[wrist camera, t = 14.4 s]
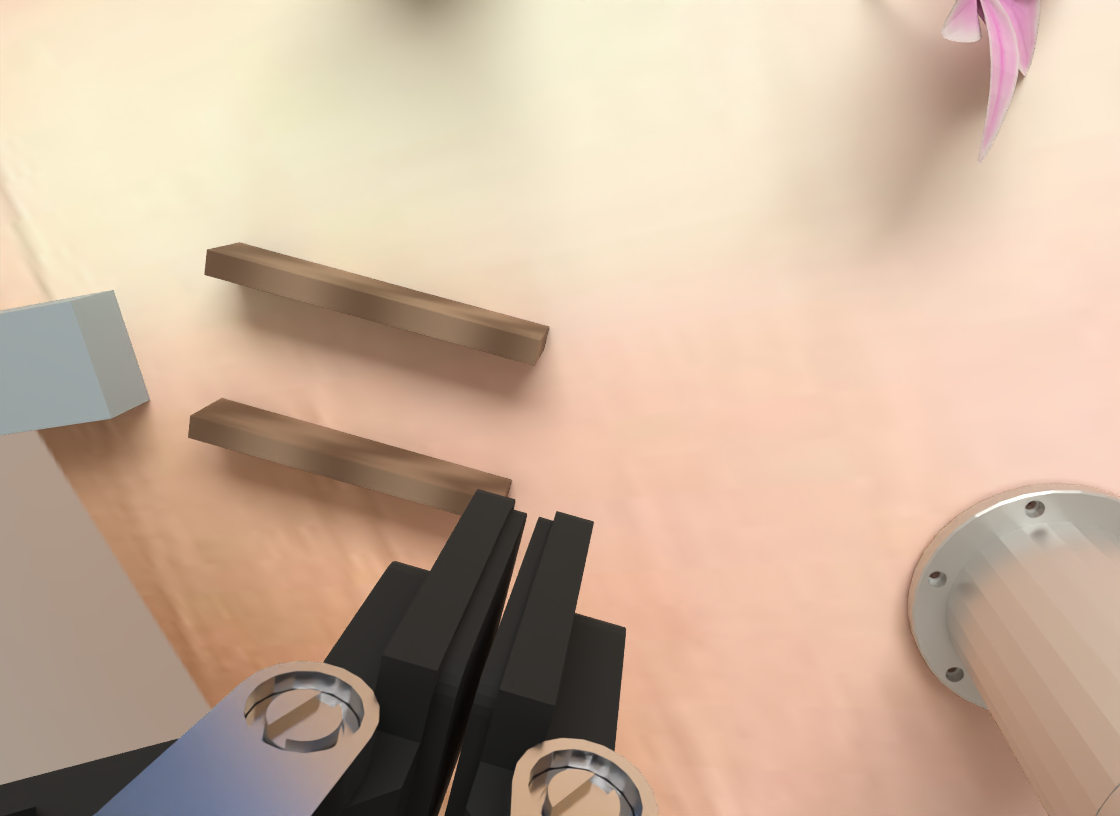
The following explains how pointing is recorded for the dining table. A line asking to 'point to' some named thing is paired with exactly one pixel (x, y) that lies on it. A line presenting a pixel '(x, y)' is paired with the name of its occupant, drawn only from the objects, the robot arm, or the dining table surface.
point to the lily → (997, 49)
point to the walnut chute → (337, 449)
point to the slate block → (66, 364)
